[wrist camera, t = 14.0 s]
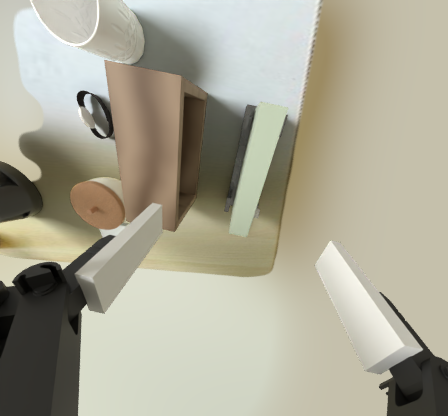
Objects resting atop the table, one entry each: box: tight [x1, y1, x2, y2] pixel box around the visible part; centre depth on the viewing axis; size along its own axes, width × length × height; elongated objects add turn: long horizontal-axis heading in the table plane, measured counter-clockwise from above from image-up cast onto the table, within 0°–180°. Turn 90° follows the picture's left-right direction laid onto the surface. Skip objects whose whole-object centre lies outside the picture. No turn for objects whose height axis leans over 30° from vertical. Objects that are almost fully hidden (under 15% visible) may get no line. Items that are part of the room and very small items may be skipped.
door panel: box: [229, 102, 288, 237], centre depth 27 cm, size 18×4×11 cm, turn 170°
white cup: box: [30, 0, 145, 65], centre depth 21 cm, size 8×8×10 cm
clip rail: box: [224, 105, 288, 218], centre depth 30 cm, size 6×19×5 cm, turn 170°
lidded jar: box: [70, 177, 126, 230], centre depth 35 cm, size 11×11×9 cm
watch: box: [77, 91, 114, 139], centre depth 30 cm, size 8×5×4 cm, turn 10°
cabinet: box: [104, 60, 208, 232], centre depth 27 cm, size 8×20×13 cm, turn 170°
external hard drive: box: [100, 223, 128, 238], centre depth 47 cm, size 2×8×12 cm
